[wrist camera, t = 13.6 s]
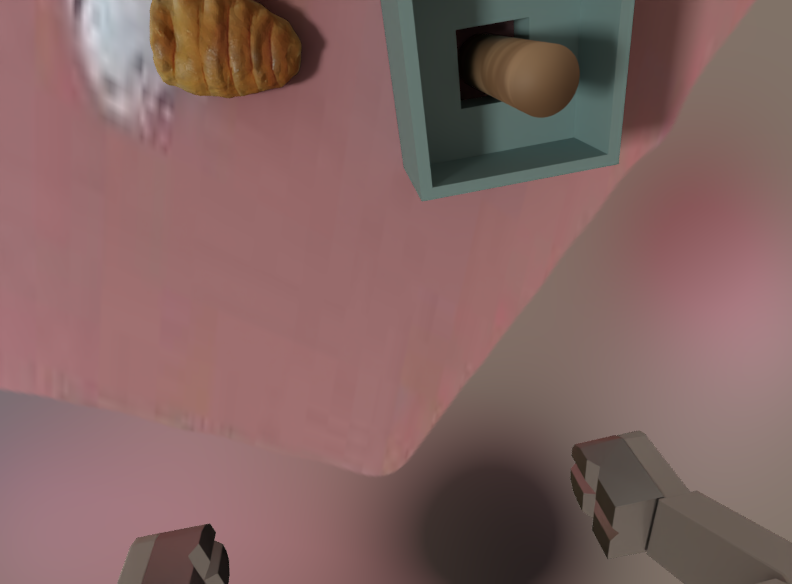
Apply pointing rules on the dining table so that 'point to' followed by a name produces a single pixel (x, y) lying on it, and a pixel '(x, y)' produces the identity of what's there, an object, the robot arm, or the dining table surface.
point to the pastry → (222, 46)
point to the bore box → (493, 119)
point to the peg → (520, 72)
